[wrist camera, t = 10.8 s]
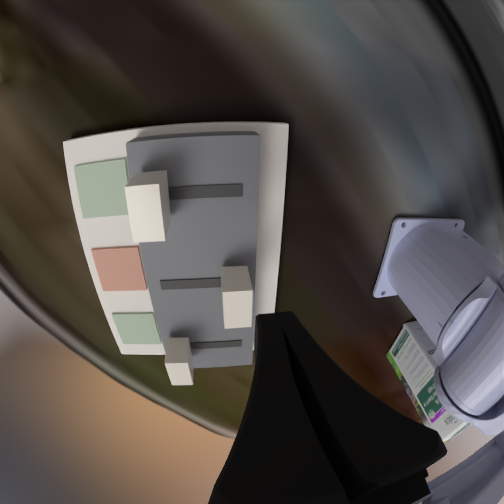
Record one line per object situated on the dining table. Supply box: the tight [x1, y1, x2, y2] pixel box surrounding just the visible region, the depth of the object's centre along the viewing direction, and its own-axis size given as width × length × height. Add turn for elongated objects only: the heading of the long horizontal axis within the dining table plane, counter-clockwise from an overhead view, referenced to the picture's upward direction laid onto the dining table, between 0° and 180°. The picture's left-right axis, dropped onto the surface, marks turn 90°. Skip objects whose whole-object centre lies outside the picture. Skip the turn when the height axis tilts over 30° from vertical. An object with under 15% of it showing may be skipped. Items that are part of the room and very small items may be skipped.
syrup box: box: [386, 321, 470, 443], centre depth 24 cm, size 6×6×14 cm
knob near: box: [125, 170, 171, 243], centre depth 13 cm, size 2×3×2 cm, turn 0°
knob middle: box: [221, 266, 253, 329], centre depth 17 cm, size 2×3×2 cm, turn 0°
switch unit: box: [63, 122, 289, 368], centre depth 19 cm, size 14×19×3 cm
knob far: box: [165, 337, 193, 385], centre depth 19 cm, size 2×3×2 cm, turn 0°
